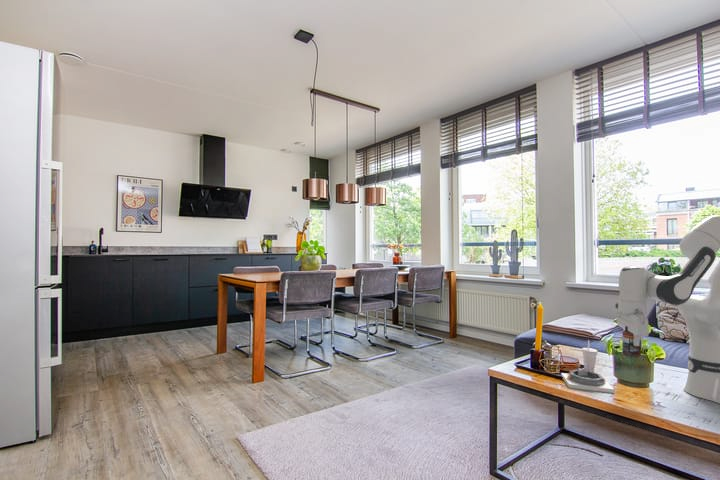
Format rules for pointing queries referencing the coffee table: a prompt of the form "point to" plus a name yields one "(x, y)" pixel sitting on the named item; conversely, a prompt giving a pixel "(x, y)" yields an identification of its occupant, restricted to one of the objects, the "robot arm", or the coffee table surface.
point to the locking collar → (579, 374)
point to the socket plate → (572, 384)
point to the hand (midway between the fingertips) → (631, 343)
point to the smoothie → (589, 358)
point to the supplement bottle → (630, 344)
